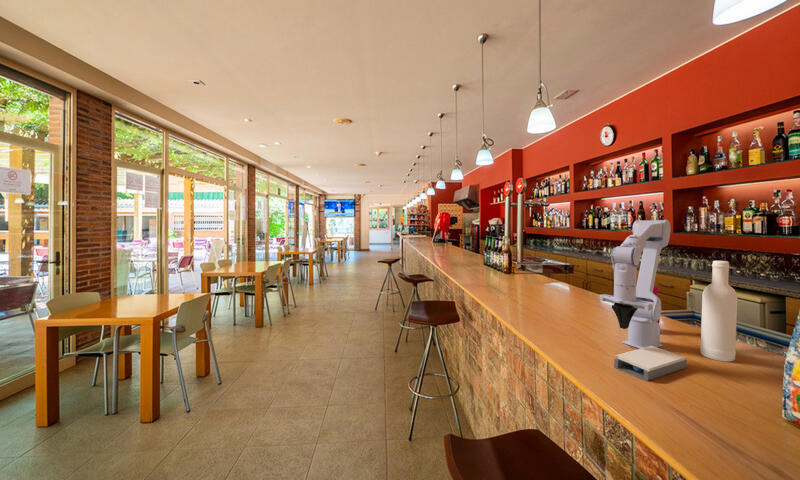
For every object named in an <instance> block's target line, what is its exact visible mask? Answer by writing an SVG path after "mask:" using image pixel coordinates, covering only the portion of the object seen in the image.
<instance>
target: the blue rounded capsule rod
mask: <svg viewBox="0 0 800 480" xmlns="http://www.w3.org/2000/svg"><path fill="white" fill-rule="evenodd" d="M633 369H634V370H635V371H642V370H644V369H642V368H639V367H637V366H634V365H633Z"/></svg>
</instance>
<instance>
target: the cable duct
mask: <svg viewBox="0 0 800 480" xmlns="http://www.w3.org/2000/svg"><path fill="white" fill-rule="evenodd" d="M613 364H614V366H613V367H614V369H616V370H618V371H622V372H624V373H626V374H628V375H631V376H634V377H636V378H639V379H640V380H643V381H646V382H649V381H653V380H656V379H658V378H662V377H664V376H667V375H670V374H673V373H676V372H679V371H683V370H685V369H687V358H686V359H685V360H683V361H680V362H677V363H674V364H671V365H668V366H665V367H661V368H658V369H655V370H652V371H647V370H642V371H635V370H634V369H633V365H632V364H629V363H627V362H625V361H622V360H620V359H617V358H614V363H613Z"/></svg>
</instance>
